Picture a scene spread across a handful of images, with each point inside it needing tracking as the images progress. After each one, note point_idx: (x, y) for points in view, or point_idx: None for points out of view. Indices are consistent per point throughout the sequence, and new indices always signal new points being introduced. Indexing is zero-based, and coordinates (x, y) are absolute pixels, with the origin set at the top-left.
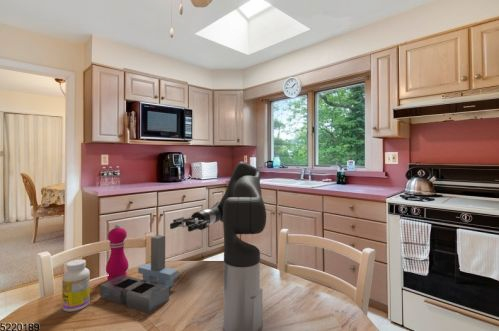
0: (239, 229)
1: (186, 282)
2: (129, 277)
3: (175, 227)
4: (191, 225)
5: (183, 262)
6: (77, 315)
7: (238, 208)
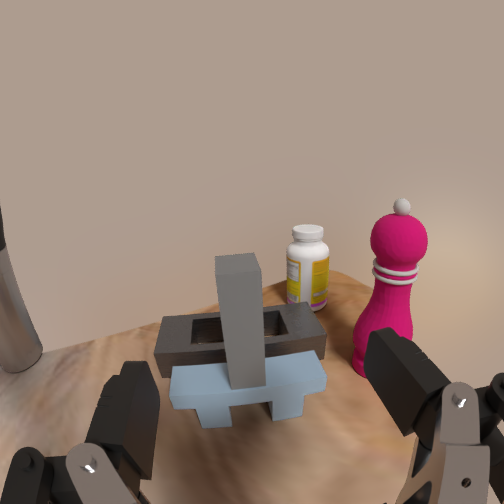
0: None
1: (173, 456)
2: (293, 337)
3: (388, 407)
4: (117, 381)
5: None
6: (274, 298)
7: None
